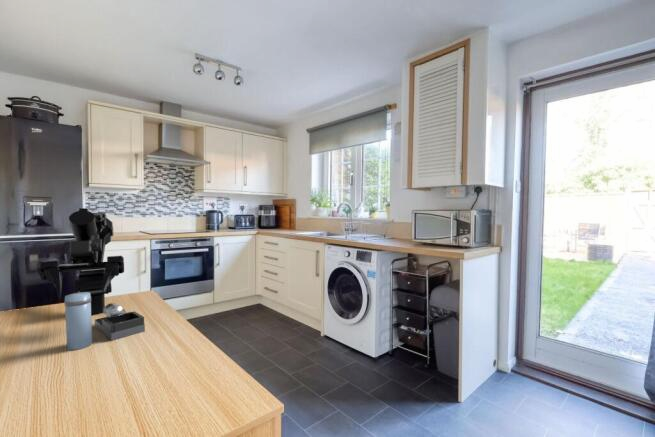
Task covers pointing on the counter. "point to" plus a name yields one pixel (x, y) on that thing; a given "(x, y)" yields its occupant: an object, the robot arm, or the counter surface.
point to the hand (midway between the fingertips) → (81, 293)
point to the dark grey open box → (119, 322)
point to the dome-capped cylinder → (78, 320)
